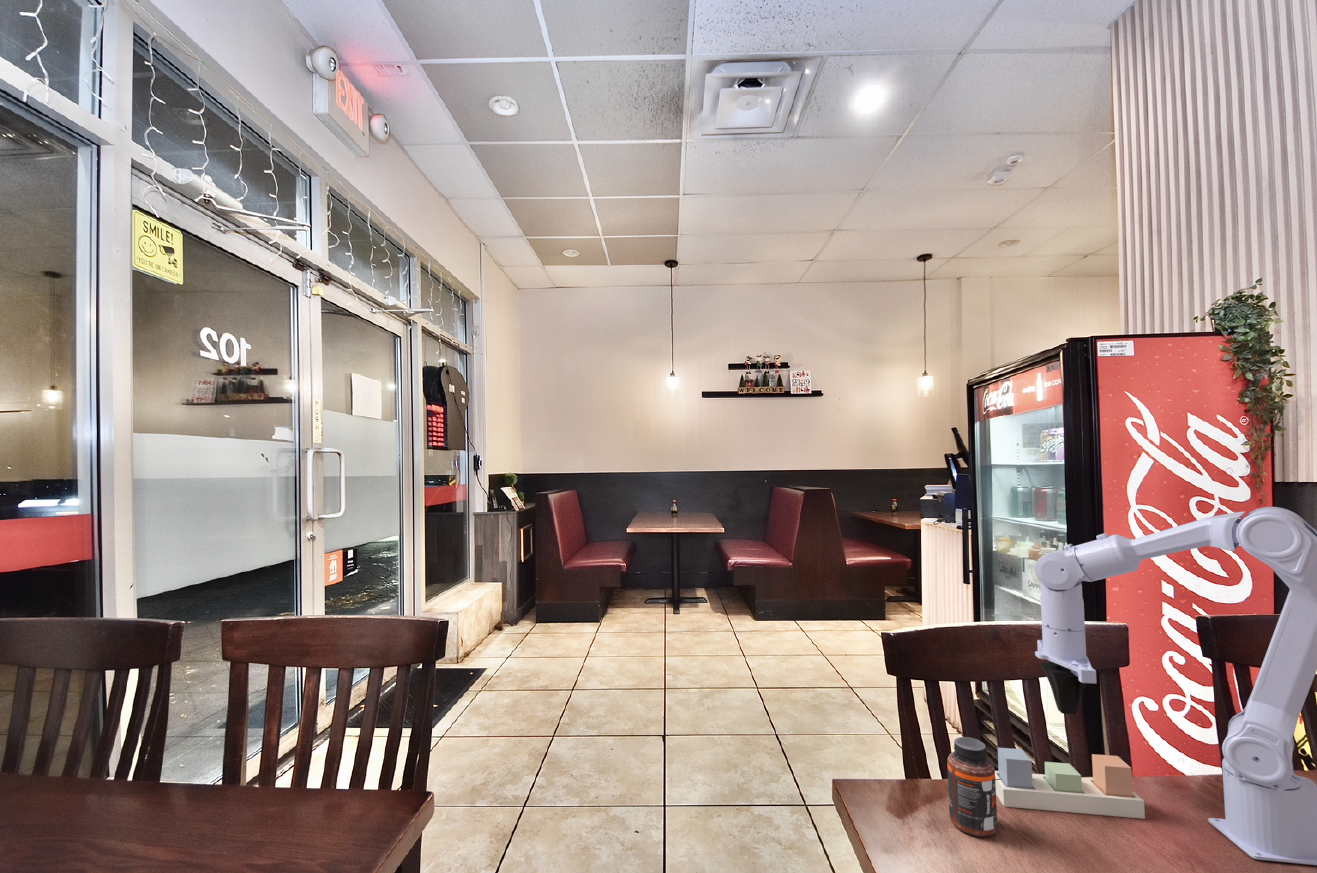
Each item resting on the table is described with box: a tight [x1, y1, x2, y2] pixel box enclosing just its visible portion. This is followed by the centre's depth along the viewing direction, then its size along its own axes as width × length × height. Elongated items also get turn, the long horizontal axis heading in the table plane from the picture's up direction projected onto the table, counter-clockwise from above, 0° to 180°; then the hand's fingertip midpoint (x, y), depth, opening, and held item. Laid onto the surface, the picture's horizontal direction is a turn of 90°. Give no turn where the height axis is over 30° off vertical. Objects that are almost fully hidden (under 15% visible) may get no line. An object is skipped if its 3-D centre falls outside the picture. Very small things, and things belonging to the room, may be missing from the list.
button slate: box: [997, 747, 1033, 789], centre depth 87 cm, size 3×3×4 cm
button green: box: [1044, 761, 1082, 793], centre depth 86 cm, size 3×3×4 cm
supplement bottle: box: [947, 736, 998, 837], centre depth 81 cm, size 6×6×11 cm
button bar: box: [995, 770, 1146, 820], centre depth 86 cm, size 18×5×2 cm, turn 79°
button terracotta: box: [1091, 753, 1134, 798], centre depth 85 cm, size 3×3×4 cm
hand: (1067, 712), depth 92 cm, fingers closed
